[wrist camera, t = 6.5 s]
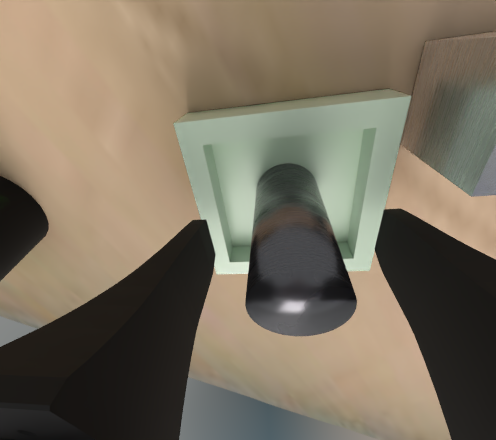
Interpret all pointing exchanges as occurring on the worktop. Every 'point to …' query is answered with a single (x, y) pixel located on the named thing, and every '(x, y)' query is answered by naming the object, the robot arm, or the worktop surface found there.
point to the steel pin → (295, 258)
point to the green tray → (301, 153)
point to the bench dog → (456, 111)
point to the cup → (18, 225)
